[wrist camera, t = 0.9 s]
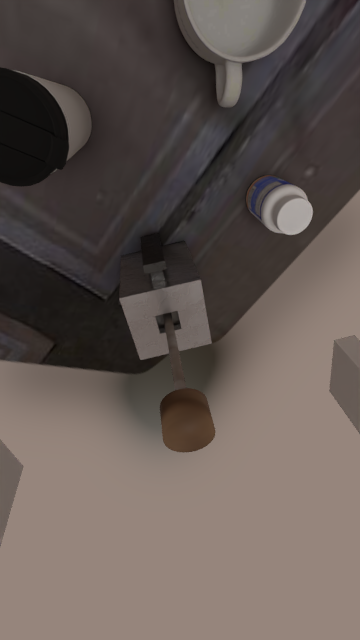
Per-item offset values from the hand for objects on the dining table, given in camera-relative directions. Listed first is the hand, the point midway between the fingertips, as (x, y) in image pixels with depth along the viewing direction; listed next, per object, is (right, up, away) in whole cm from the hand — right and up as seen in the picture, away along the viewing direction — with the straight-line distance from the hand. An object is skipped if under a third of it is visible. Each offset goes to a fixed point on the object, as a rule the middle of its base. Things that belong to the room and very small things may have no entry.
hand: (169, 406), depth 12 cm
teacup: (+4, +33, +20) cm, 39 cm away
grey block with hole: (-3, +11, +34) cm, 36 cm away
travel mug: (-12, +25, +23) cm, 36 cm away
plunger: (-1, +4, +27) cm, 27 cm away
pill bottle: (+12, +20, +30) cm, 38 cm away
